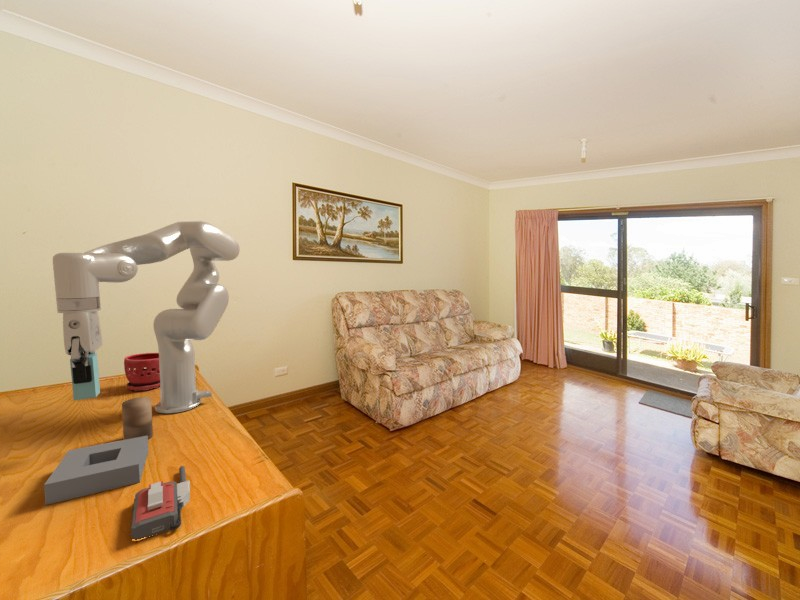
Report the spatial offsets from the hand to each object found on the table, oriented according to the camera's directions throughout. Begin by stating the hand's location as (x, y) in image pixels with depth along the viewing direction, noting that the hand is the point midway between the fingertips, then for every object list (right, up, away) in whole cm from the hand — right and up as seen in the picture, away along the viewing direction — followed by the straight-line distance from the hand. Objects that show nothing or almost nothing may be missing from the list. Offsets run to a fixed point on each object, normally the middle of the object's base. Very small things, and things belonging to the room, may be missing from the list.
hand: (85, 378), depth 82 cm
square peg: (0, -4, 0) cm, 4 cm away
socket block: (+13, -18, -10) cm, 24 cm away
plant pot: (-18, -14, +45) cm, 50 cm away
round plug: (+8, -17, +6) cm, 20 cm away
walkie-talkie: (+32, -20, -18) cm, 42 cm away
